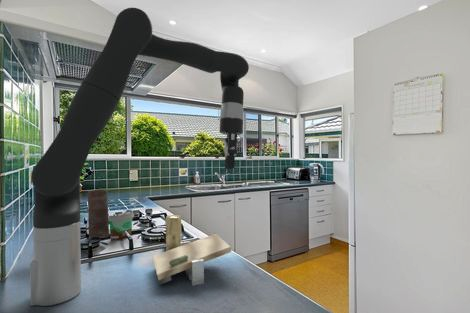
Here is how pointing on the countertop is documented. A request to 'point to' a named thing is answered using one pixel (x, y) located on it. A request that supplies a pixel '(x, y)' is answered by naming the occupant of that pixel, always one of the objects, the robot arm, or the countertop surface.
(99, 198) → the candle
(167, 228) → the cylinder
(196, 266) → the board stand
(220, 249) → the tilting board
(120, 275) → the countertop surface
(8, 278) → the countertop surface
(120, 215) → the food container
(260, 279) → the countertop surface
